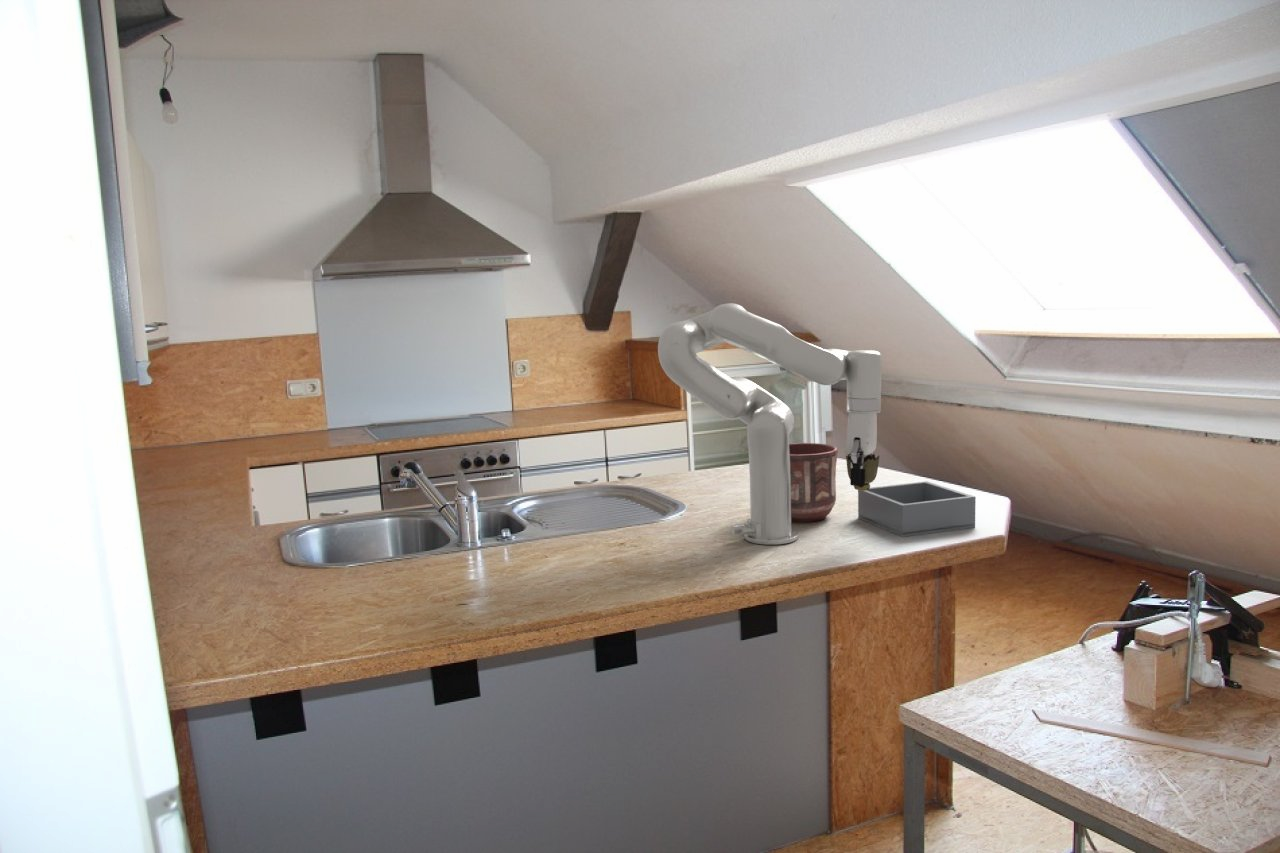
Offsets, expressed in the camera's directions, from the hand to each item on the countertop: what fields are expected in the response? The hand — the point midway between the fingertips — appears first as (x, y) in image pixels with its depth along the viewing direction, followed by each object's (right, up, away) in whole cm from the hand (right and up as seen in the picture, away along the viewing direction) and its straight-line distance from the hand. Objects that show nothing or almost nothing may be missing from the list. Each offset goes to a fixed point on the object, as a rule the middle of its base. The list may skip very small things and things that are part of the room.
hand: (862, 481), depth 220 cm
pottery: (-9, -11, +27) cm, 30 cm away
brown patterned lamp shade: (0, -2, 0) cm, 2 cm away
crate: (+17, -11, +17) cm, 27 cm away
